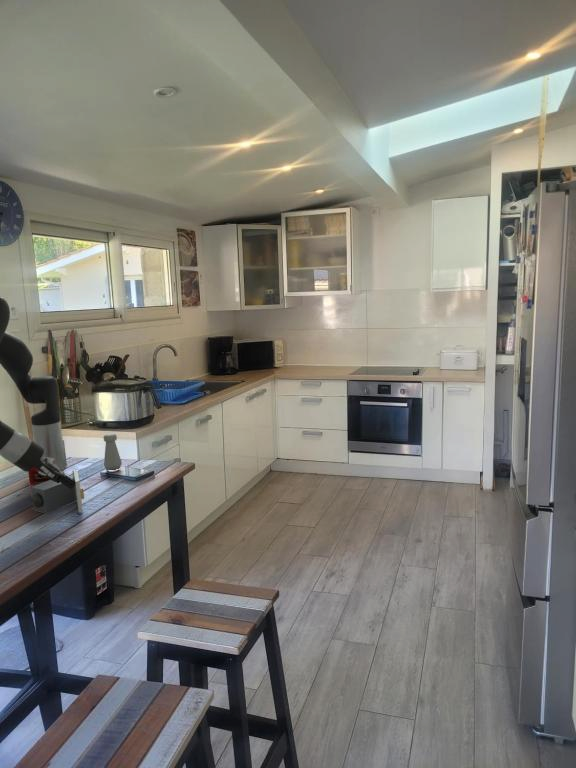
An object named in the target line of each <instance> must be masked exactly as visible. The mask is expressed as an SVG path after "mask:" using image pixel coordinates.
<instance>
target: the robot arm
mask: <svg viewBox="0 0 576 768" xmlns="http://www.w3.org/2000/svg"><path fill="white" fill-rule="evenodd" d="M10 317H11V309H10V306H9V304H8V302H7V300H6V299H5V297H2V296H0V366H1V367H2V368H3V369H4V370H5V371H6V373H7V374H8V375H9V376H10V378H11V380H12V381H13V382H14V384H15V386H16V387H17V389H18V391H19V392H20V395H21V396H22V398H23V399H24V401H25V402H27V403H28V404H32V405H33V404H34V405H38V404H45V408H44V409H43V410H42V411H39V412H37V413H35V414H32V415H31V416H30V421H31V430H32V437H33V438H32V439H33V440H32V439H30V438H29V437H28V436H26V435H25V434H23V433H22V432H18V431H17V430H15V429H14V428H12V427H10V426H9V425H8V424H6V423H5V422H3V421H2V420H0V456H1V457H2V458H3V459H5V460H6V461H8V462H9V463H11V464H13V465H14V466H16V467H17V468H19V469H20V470H22V471H24V472H25V473H26V472H27V473H28V471H30V470H31V469H32V468H34V467H35V468H36V469H37V470H38V471H37V472H38V473H39V474H41V475H44V476H45V477H46V478H47V479H50V480H52V481H54V482H57V483H60V482H61V483H62V484H64V485H65V486H67V487H68V488H70V489H72V488H73V487H74V486H75V485H76V482H75V481H74V480H73V478H72V479H71V477H70V476H68V475H67V474H66V473H65V472H64V470H65V469H66V468H67V465H68V464H67V463H68V462H67V455H66V454H67V453H66V445H65V440H63V434H62V433H63V432H62V423H61V407H60V405H61V404H60V391H59V383H58V380H57V379H56V378H55V376H31V375H30V374H29V373H30V371H31V369H32V366H33V362H34V357H33V356H34V355H32V352H31V350H29V348H28V346H27V345H26V344H25V342H24V341H23V339H21V338H19V337H17V336H16V335H14V334H12V333H10V332H8V331H7V328H8V326H9V322H10V319H11V318H10ZM42 457H51V458H54V461H55V464H54V463H52V462H51V460H49V459H48V458H45V459H44V458H42Z"/></svg>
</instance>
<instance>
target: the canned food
mask: <svg viewBox="0 0 576 768" xmlns="http://www.w3.org/2000/svg"><path fill="white" fill-rule="evenodd" d="M42 458H44V459H45V458H48V459H49V460H51V462H52V463H54V464H55V461H54V458H51V457H42ZM37 471H38V470H37V469H36V468H35V467H34V468H32V469H31V470H30V471H27V473H28V481H29V488H30V490H31V487H32V486H35V485H38V484H40V483H43V482H46V481H49V480H50V479H47V478H46V477H45V476H44V475H41V474H39V473H38V472H37ZM30 495H31V496H32V493H31V492H30Z"/></svg>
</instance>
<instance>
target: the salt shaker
mask: <svg viewBox="0 0 576 768" xmlns="http://www.w3.org/2000/svg"><path fill="white" fill-rule="evenodd" d="M117 438H118V436H117V434H116V433H114V432H112V433H111V432H110V433H105V434H104V435H103V441H104V442H105V447H104V448H105V450H104V460H103V461H104V463H103V465H104V466H103V467H104V468H105V470H106V471H107V470H116V469H119V468H120V469H121V466H122V460H121V456H120V452H119V450H118V447H117V443H116V441H117Z"/></svg>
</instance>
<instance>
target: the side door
mask: <svg viewBox="0 0 576 768" xmlns="http://www.w3.org/2000/svg"><path fill="white" fill-rule="evenodd" d="M74 479H75V482H76V485H75V488H76V496H77V501H76V504H77V508H78V513H79V514H81V513H83V511H84V510H83V502H82V500H85V494H84V487H80V485H81V484H80V478H79V473H78V470H76V471H74Z"/></svg>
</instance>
